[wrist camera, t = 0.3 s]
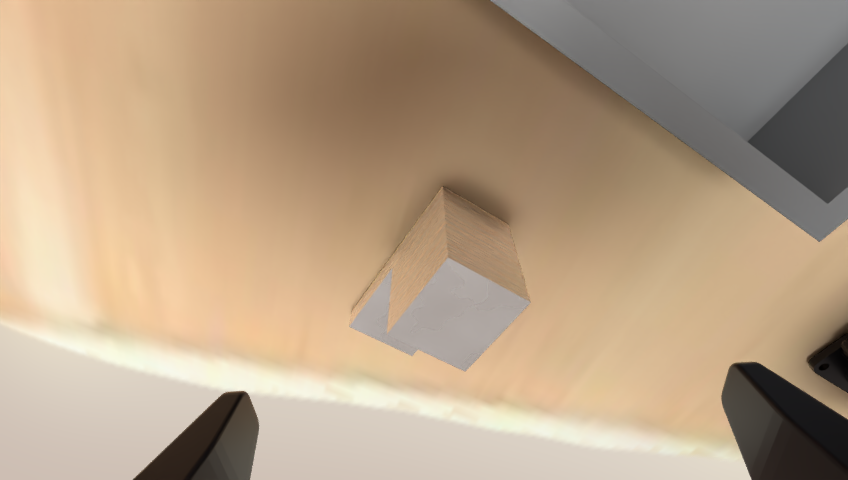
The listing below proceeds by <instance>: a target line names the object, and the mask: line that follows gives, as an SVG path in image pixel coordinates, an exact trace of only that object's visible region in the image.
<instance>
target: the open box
mask: <svg viewBox="0 0 848 480" xmlns="http://www.w3.org/2000/svg"><path fill="white" fill-rule="evenodd" d="M490 1H492V2H493V3H494V4H496V5H497V6H498V7H500V8H501V9H502V10H504V11H505V12H507V13H508V14H509V15H511V16H512V17H513V18H515V19H516V20H517V21H519V22H520V23H522V24H523V25H524V26H526V27H527V28H528V29H530V30H531V31H532V32H534V33H535V34H537V35H538V36H539V37H541V38H542V39H543V40H545V41H546V42H547V43H549V44H550V45H552V46H553V47H554V48H556V49H557V50H558V51H560V52H561V53H562V54H564V55H565V56H567V57H568V58H569V59H571V60H572V61H573V62H575V63H576V64H577V65H579V66H580V67H582V68H583V69H584V70H586V71H587V72H588V73H590V74H591V75H592V76H594V77H595V78H597V79H598V80H599V81H601V82H602V83H603V84H605V85H606V86H607V87H609V88H610V89H612V90H613V91H614V92H616V93H617V94H618V95H620V96H621V97H622V98H624V99H625V100H627V101H628V102H629V103H631V104H632V105H633V106H635V107H636V108H637V109H639V110H640V111H642V112H643V113H644V114H646V115H647V116H648V117H650V118H651V119H652V120H654V121H655V122H657V123H658V124H659V125H661V126H662V127H663V128H665V129H666V130H667V131H669V132H670V133H672V134H673V135H674V136H676V137H677V138H678V139H680V140H681V141H682V142H684V143H685V144H687V145H688V146H689V147H691V148H692V149H693V150H695V151H696V152H697V153H699V154H700V155H702V156H703V157H704V158H706V159H707V160H708V161H710V162H711V163H712V164H714V165H715V166H717V167H718V168H719V169H721V170H722V171H723V172H725V173H726V174H727V175H729V176H730V177H732V178H733V179H734V180H736V181H737V182H738V183H740V184H741V185H742V186H744V187H745V188H747V189H748V190H749V191H751V192H752V193H753V194H755V195H756V196H757V197H759V198H760V199H762V200H763V201H764V202H766V203H767V204H768V205H770V206H771V207H772V208H774V209H775V210H777V211H778V212H779V213H781V214H782V215H783V216H785V217H786V218H787V219H789V220H790V221H792V222H793V223H794V224H796V225H797V226H798V227H800V228H801V229H802V230H804V231H805V232H807V233H808V234H809V235H811V236H812V237H813V238H815V239H816V240H817V241H819V242H820V241H821V240H822V239H824V238H825V237H826V236H827V235H829V234H830V233H831V232H832V231H834V230H835V229H836V228H837V227H838V226H840V225H841V224H842V223H843V222H845V221H846V220H847V219H848V0H490Z"/></svg>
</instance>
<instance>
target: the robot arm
mask: <svg viewBox="0 0 848 480" xmlns="http://www.w3.org/2000/svg"><path fill="white" fill-rule="evenodd" d="M809 366H810V367H811V369H812V370H813V371H814V372H815V373H816V374H818V375H820V376H821V377H823V378H824V379H826V380H828V381H829V382H831V383H833V384H834V385H836V386H837V387H839V388H841V389H842V390H844V391H846V392H847V393H848V333H847V334H845V335H844V336H843V337H841V338H840V339H838V340H837V341H835V342H834V343H833V344H831V345H830V346H828V347H827V348H826V349H824V350H823V351H821V352H820V353H818V354H817V355H816V356H814V357H813V358H812V359H811V360H810V361H809ZM722 405H723V408H724V411H725V413H726V416H727V418H728V421H729V423H730V426H731V428H732V431H733V434H734V436H735V439H736V441H737V444H738V446H739V449H740V451H741V454H742V456H743V459H744V462H745V464H746V467H747V469H748V472H749V474H750V477H751V479H752V480H848V419H846V418H845V417H843V416H841V415H840V414H838V413H837V412H835V411H834V410H832V409H830V408H829V407H827V406H826V405H824V404H823V403H821V402H819V401H818V400H816V399H815V398H813V397H812V396H810V395H808V394H807V393H805V392H804V391H802V390H801V389H799V388H797V387H796V386H794V385H793V384H791V383H790V382H788V381H786V380H785V379H783V378H782V377H780V376H779V375H777V374H775V373H774V372H772V371H771V370H769V369H768V368H766V367H764V366H763V365H761V364H759V363H757V362H741V363H733V364H732V365H731V366H730V368H729V370H728V374H727V377H726V381H725V384H724V387H723V391H722ZM258 431H259V422H258V418H257V415H256V413H255V410H254V407H253V405H252V402H251V399H250V397H249V395H248V393H246V392H245V391H235V392H226V393H224V394H222V395H221V396H220V397H219V398H218V399H217V400H216V401H215V402H214V403H212V404H211V405H210V406H209V407H208V408H207V409H206V410H205V411H204V412H203V413H202V414H201V415H200V416H199V417H198V418H197V419H196V420H195V421H194V422H193V423H192V424H191V425H190V426H189V427H187V428H186V429H185V430H184V431H183V432H182V433H181V434H180V435H179V436H178V437H177V438H176V439H175V440H174V441H173V442H172V443H171V444H170V445H169V446H167V447H166V448H165V449H164V450H163V451H162V452H161V453H160V454H159V455H158V456H157V457H156V458H155V459H154V460H153V461H152V462H151V463H150V464H149V465H148V466H147V467H146V468H145V469H144V470H142V471H141V472H140V473H139V474H138V475H137V476H136V477H135V478H134V479H133V480H250V476H251V471H252V465H253V460H254V454H255V449H256V443H257V437H258Z"/></svg>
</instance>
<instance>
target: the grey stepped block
mask: <svg viewBox="0 0 848 480" xmlns="http://www.w3.org/2000/svg"><path fill="white" fill-rule="evenodd" d="M530 303H531V301H530V297H529V294H528V290H527V287H526V283H525V280H524V277H523V273H522V270H521V266H520V263H519V259H518V256H517V252H516V249H515V245H514V242H513V238H512V235H511V231H510V228H509V225H508V224H507V223H505V222H503V221H502V220H500V219H498V218H497V217H495V216H493V215H491V214H490V213H488V212H486V211H485V210H483V209H481V208H479V207H478V206H476V205H474V204H473V203H471V202H469V201H468V200H466V199H464V198H462V197H461V196H459V195H457V194H456V193H454V192H452V191H451V190H449V189H447V188H445V187H444V186H442V187H441V189H440V190H439V191H438V193H437V194H436V196H435V197H434V198H433V200H432V201H431V202H430V204H429V205H428V207H427V208H426V209H425V211H424V212H423V213H422V215H421V216H420V218H419V219H418V220H417V222H416V223H415V224H414V226H413V227H412V229H411V230H410V231H409V233H408V234H407V236H406V237H405V238H404V240H403V241H402V242H401V244H400V245H399V247H398V248H397V249H396V251H395V252H394V253H393V255H392V256H391V258H390V259H389V260H388V262H387V263H386V264H385V266H384V267H383V269H382V270H381V271H380V273H379V274H378V275H377V277H376V278H375V280H374V281H373V282H372V284H371V285H370V286H369V288H368V289H367V291H366V292H365V293H364V295H363V296H362V298H361V299H360V300H359V302H358V303H357V304H356V306H355V307H354V309H353V310H352V313H351V319H350V324H349V327H351V328H353V329H355V330H357V331H360V332H362V333H364V334H366V335H368V336H370V337H372V338H375V339H377V340H379V341H381V342H383V343H385V344H388V345H390V346H392V347H394V348H396V349H398V350H400V351H403V352H405V353H407V354H409V355H411V356H413V354H414V353H415V352H416V351H417V350H420V351H423V352H425V353H427V354H429V355H431V356H433V357H435V358H437V359H440V360H442V361H444V362H446V363H448V364H450V365H452V366H454V367H457V368H459V369H461V370H463V371H466V370H467V369H468V368H469V367H470V366H471V365H472V364H473V363H474V362H475V361H476V360H477V359H478V358H479V357H480V356H481V354H482V353H483V352H484V351H485V350H486V349H487V348H488V347H489V346H490V345H491V344H492V343H493V342H494V341H495V340H496V339H497V338H498V337H499V336H500V334H501V333H502V332H503V331H504V330H505V329H506V328H507V327H508V326H509V325H510V324H511V323H512V322H513V321H514V320H515V319H516V318H517V317H518V315H519V314H520V313H521V312H522V311H523V310H524V309H525V308H526V307H527V306H528V305H529V304H530Z"/></svg>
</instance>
